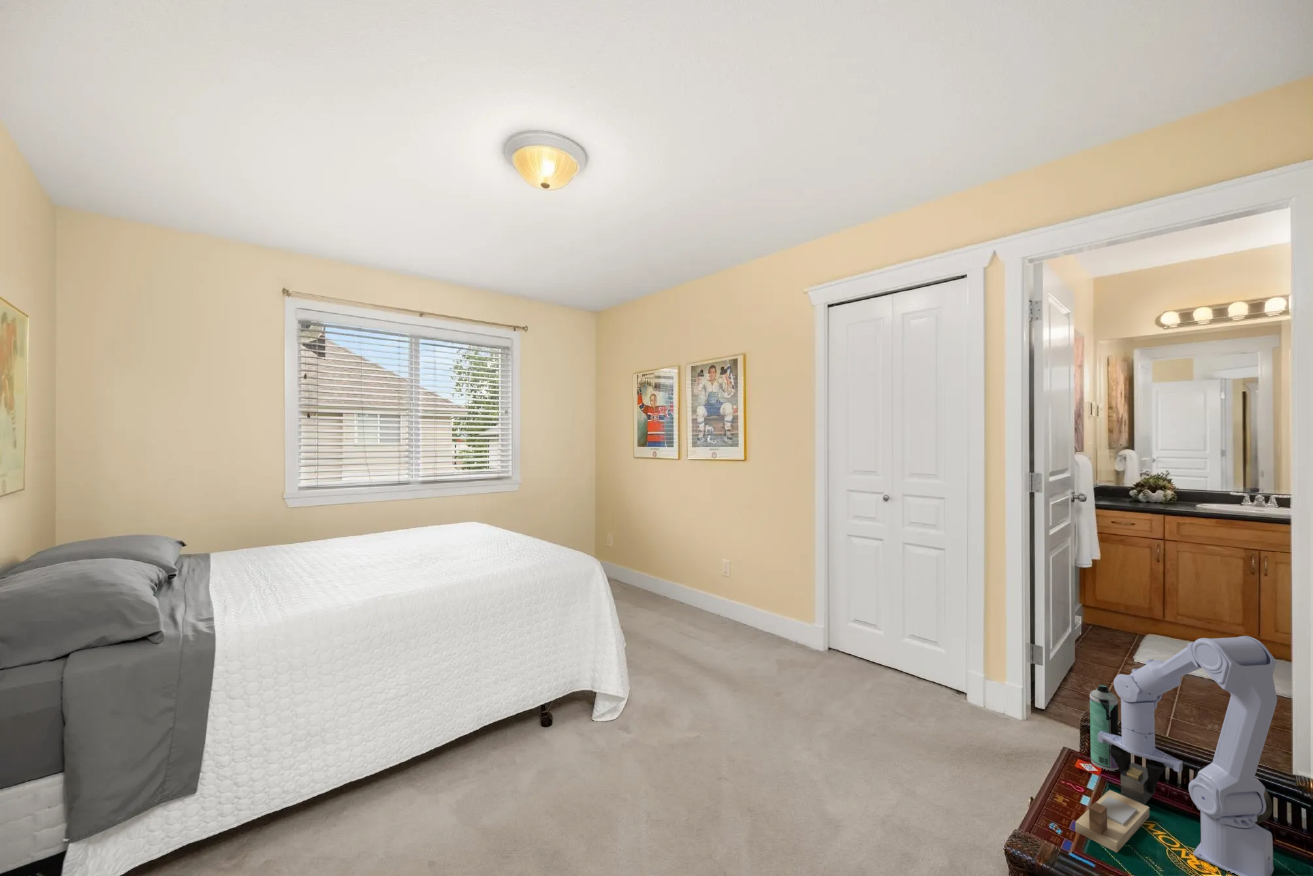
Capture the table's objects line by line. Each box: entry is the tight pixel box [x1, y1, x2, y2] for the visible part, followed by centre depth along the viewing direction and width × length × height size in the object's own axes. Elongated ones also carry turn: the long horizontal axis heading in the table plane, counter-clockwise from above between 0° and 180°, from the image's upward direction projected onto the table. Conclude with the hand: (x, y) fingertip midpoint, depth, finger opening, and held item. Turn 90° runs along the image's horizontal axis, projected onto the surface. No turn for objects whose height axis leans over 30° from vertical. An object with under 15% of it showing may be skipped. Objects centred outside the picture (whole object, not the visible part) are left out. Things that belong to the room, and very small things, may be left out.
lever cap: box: [1120, 762, 1156, 806], centre depth 123 cm, size 4×7×6 cm, turn 122°
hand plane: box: [1074, 789, 1150, 853], centre depth 116 cm, size 7×18×6 cm, turn 122°
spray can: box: [1089, 684, 1120, 772], centre depth 136 cm, size 6×6×20 cm
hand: (1138, 786), depth 124 cm, fingers closed on lever cap, 4 cm apart
